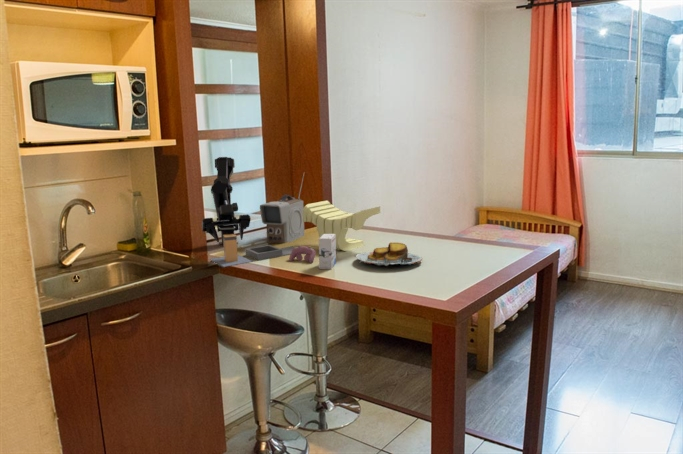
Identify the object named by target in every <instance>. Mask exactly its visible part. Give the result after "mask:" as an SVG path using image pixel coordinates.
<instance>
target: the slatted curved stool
mask: <svg viewBox="0 0 683 454" xmlns="http://www.w3.org/2000/svg"><path fill="white" fill-rule="evenodd" d="M303 207H304V209H303V222H304V223H306V222H307V223H312V224H313V225H314V226H316V229H317V234H318V237H319V238H320V237H321V236H322V235H323V234H336V250H339V251H345V252H347V251H350V250H354V249H356V248H357V249H358V248H361V247H363V246H366V244H365V242H364V240H361V239H360V240H359V239H354V238H348V237H346V235H347V233H348V230H349V229H353V230H355V231H359V230H363V229H364V225H365V222H366V221H367V219H369V218H370V217H372V216H375V215H379V214H381V206H376V207H371V208H368V209H363V210H360V211H357V212H354V213H349V212H346V211H344V210H342V209H340V208H338V207H336V206H335V205H333V204H331V202H330V201H329V200H323V201H318V202H312V203H307V204H306V205H305V206H303ZM319 238H318V239H319Z"/></svg>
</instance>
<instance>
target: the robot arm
mask: <svg viewBox="0 0 683 454" xmlns="http://www.w3.org/2000/svg"><path fill="white" fill-rule="evenodd" d="M235 167H236V166H235V159H234V158H232V157H228V156H220V157H219V156H218V157H217V158H214V168H215V169H216V171H217V176H216V177H217V178H214V180H213V184H212V185H211V188H210V192H211V195H212V199H213V202H214V207H215V212H216V216H217V217H216V220H214V218H213V217H205V218H204V217H203V218H202V219H201V231H202V232H204V233H207V234H209V235H210V236H211V237H212V238H213V239H214V240H215V241H216V242H217V243H218V244H220V245H222V246H224V245H223V235H226V234H235V231H236V232H237V231H238V232H239V237H240V240H243V239H244V238H243V237H244V231H245V230H246V229H247V228H249V227H250V225H251V216H250V214H240V215H239V218H237V217H236V216H235V213H234V212H238V210H239V206H238V203H237V202H231V199H232V196H231V194H232V192H233V191H234V190H233V189H234V188H233V187H232V185H231V177H232V175H233V174H234V168H235ZM218 232H220V235H221V241H220V240H219V239H220V238H219V235H218ZM238 244H239V242H238V241H237V245H238Z"/></svg>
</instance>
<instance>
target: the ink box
mask: <svg viewBox="0 0 683 454" xmlns="http://www.w3.org/2000/svg"><path fill="white" fill-rule="evenodd" d="M336 253H337V249H336V234H323V235H322V236H321V237H320V238H318V269H320V270H321V269H322V270H332V269H333V268H334V267H335V265H336V264H337V254H336Z"/></svg>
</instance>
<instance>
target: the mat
mask: <svg viewBox="0 0 683 454" xmlns="http://www.w3.org/2000/svg"><path fill="white" fill-rule="evenodd" d="M237 255H238V261H232V262H226V261H225V260H224V256H220V257H216V258H215V257H214V258H210V259H209V261H210V260H211V261H210V262H212V261H213V262H212V263H214V262H215V263H217V264H218V265H217V264H216V265H217V266H219V267H222V268H223V269H225V267H230V266H238V265H243V264H247V263H248V264H249V263H253V262H254V261H253V260H251V259H248V258H247V257H244V256H242V255H241V254H238V253H237ZM215 263H214V264H215Z"/></svg>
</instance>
